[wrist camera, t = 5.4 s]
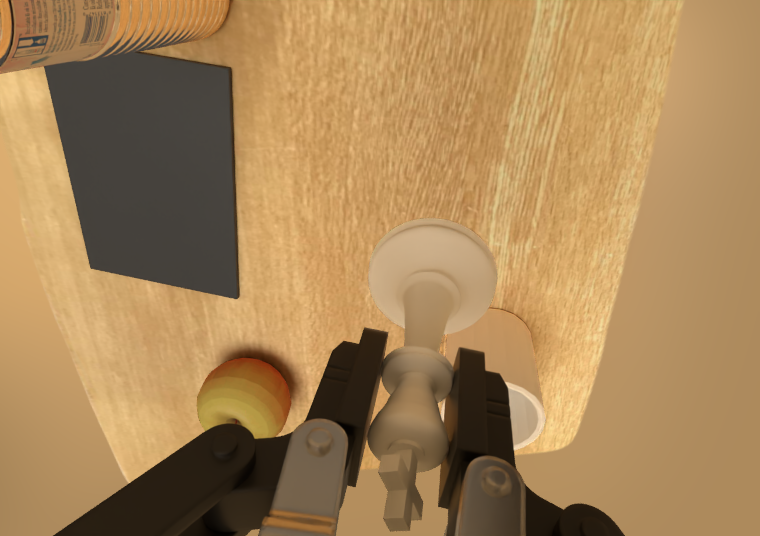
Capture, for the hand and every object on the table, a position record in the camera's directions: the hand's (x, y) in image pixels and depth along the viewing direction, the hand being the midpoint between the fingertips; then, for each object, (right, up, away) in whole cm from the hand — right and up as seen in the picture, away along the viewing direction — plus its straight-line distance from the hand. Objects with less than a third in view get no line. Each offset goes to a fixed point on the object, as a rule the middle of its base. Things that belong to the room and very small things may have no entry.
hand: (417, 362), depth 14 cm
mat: (-22, +11, +29) cm, 38 cm away
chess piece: (+1, +3, +5) cm, 5 cm away
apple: (-15, -10, +40) cm, 44 cm away
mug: (+9, -6, +33) cm, 35 cm away
